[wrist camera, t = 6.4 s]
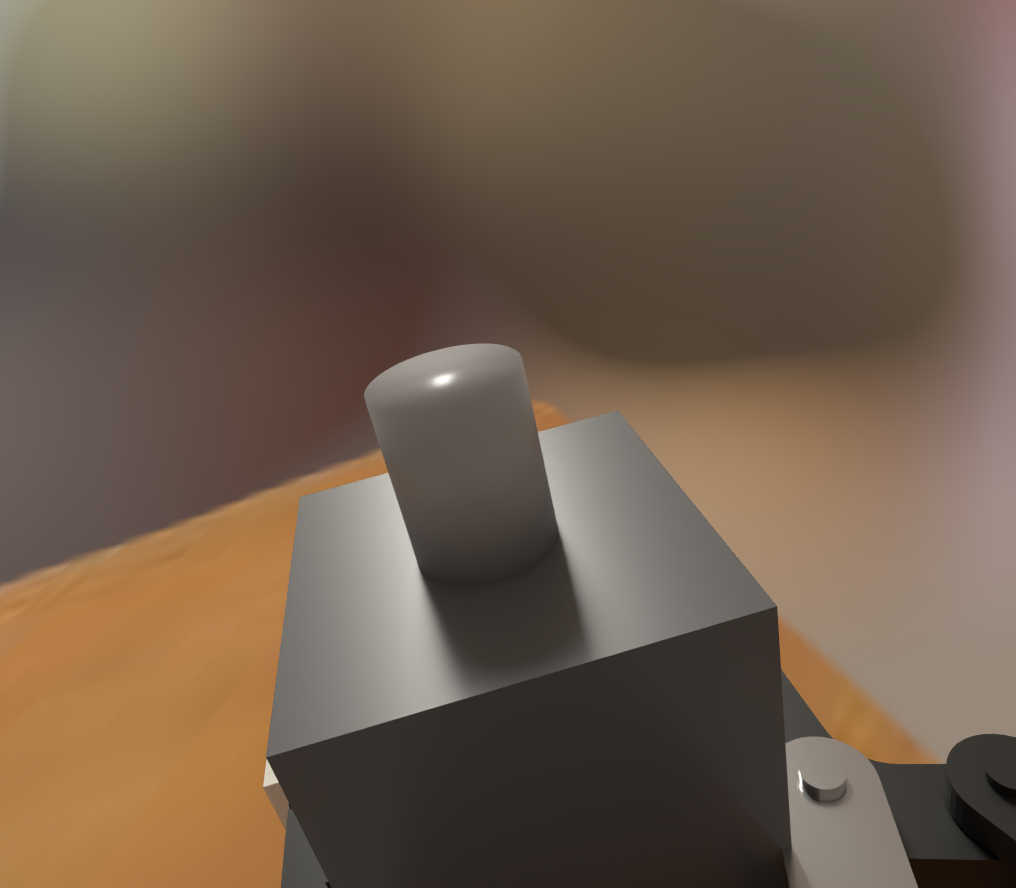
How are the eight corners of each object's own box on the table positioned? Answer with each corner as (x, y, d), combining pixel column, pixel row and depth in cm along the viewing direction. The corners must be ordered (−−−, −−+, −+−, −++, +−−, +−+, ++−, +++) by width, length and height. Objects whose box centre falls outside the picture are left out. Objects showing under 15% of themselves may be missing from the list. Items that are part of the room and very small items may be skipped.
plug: (538, 1298, 12) (169, 563, 5) (490, 988, 16) (247, 360, 9) (813, 1200, 12) (763, 400, 6) (698, 921, 16) (596, 270, 10)
